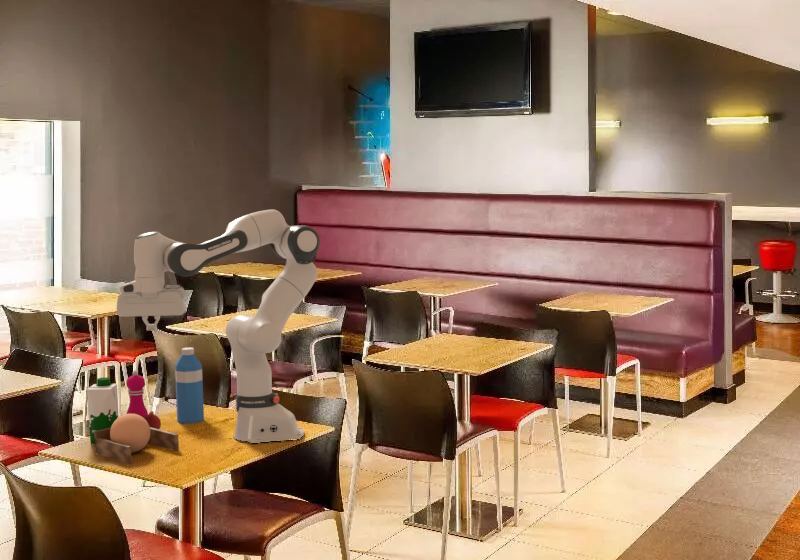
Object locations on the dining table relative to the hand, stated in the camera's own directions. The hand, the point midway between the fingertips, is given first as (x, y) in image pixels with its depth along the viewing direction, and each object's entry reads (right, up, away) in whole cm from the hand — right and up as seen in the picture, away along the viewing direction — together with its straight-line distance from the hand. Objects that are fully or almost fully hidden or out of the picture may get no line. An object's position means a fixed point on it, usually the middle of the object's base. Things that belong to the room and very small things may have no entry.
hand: (151, 330), depth 319 cm
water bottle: (+4, -33, +39) cm, 52 cm away
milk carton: (-18, -36, +13) cm, 43 cm away
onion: (-5, -35, +20) cm, 41 cm away
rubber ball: (-6, -32, -1) cm, 32 cm away
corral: (-4, -37, 0) cm, 38 cm away
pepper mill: (-11, -35, +27) cm, 46 cm away
